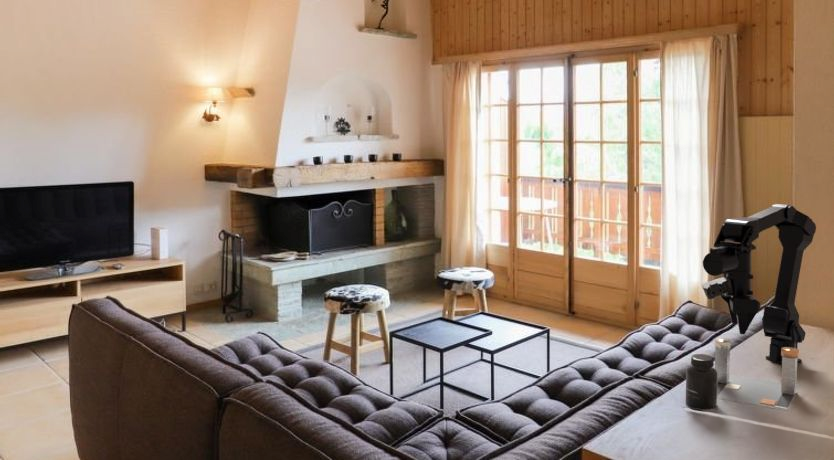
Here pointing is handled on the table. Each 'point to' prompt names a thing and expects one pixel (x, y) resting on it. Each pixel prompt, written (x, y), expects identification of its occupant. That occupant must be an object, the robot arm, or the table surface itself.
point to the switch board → (755, 392)
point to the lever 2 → (789, 370)
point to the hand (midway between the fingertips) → (738, 328)
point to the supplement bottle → (701, 383)
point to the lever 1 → (722, 359)
